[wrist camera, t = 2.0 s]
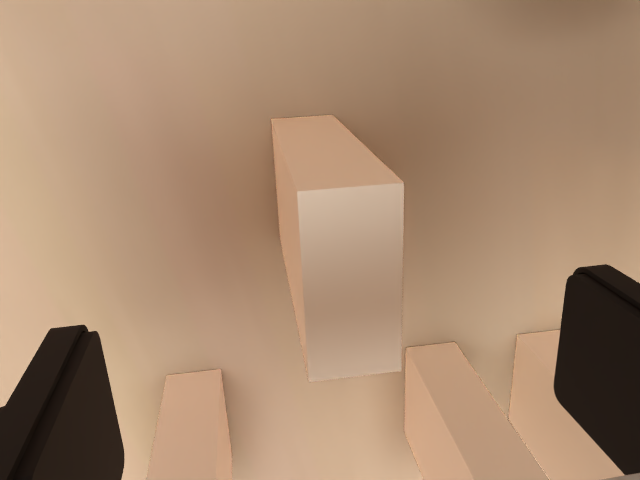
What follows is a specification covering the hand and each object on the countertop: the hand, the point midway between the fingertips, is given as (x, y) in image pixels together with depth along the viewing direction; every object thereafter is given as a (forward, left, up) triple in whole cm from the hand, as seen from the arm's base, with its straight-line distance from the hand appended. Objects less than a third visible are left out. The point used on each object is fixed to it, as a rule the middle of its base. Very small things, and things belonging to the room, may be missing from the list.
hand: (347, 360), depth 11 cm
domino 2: (-6, +11, -13) cm, 17 cm away
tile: (-1, 0, -13) cm, 12 cm away
